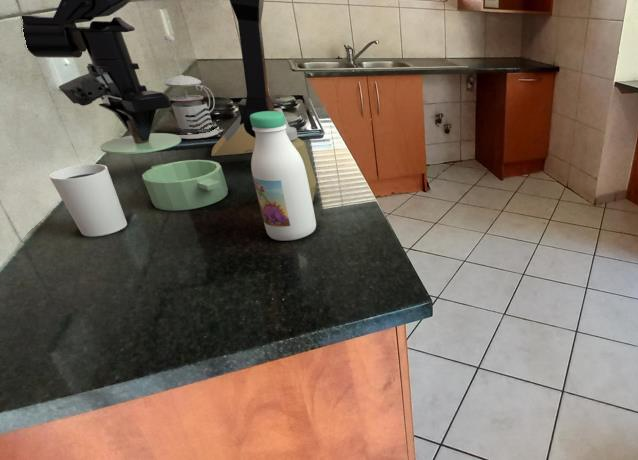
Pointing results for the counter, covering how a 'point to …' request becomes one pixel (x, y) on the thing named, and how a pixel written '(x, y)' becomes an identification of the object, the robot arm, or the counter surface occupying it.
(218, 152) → the sandwich container
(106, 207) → the white cup
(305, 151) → the squeeze bottle
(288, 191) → the milk bottle
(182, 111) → the french press
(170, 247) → the counter surface
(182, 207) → the pot
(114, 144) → the lid
